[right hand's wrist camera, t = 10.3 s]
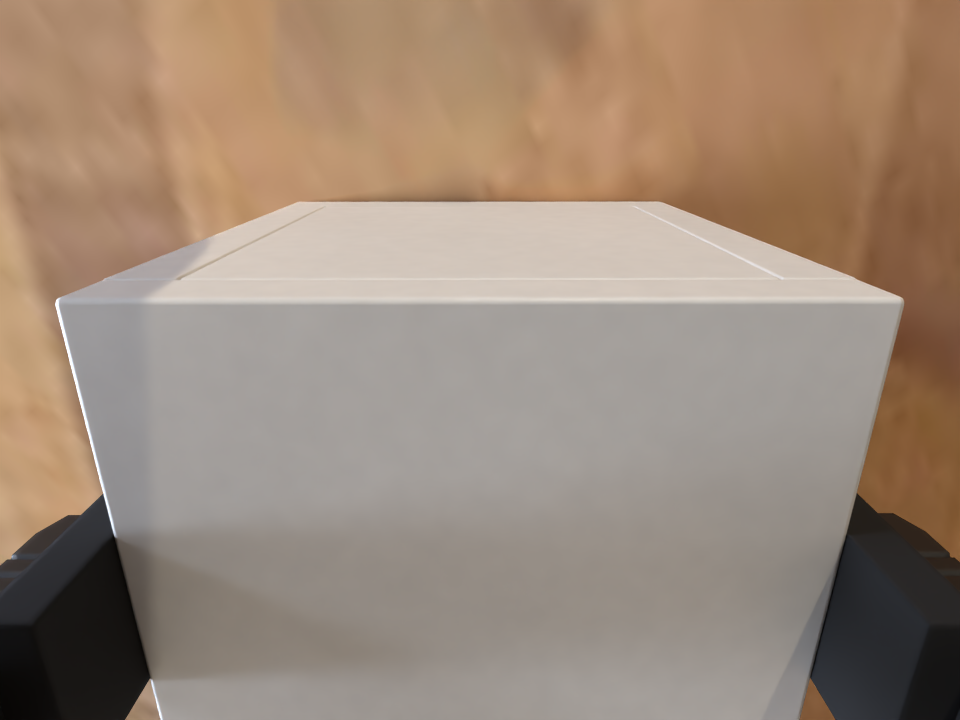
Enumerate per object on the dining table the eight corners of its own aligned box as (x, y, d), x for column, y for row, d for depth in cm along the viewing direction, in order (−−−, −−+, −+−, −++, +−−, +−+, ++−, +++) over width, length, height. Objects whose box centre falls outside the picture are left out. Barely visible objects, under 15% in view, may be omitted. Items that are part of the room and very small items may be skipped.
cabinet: (606, 746, 25) (691, 1155, 15) (353, 747, 25) (270, 1156, 15) (661, 201, 17) (908, 297, 7) (297, 201, 17) (50, 297, 7)
